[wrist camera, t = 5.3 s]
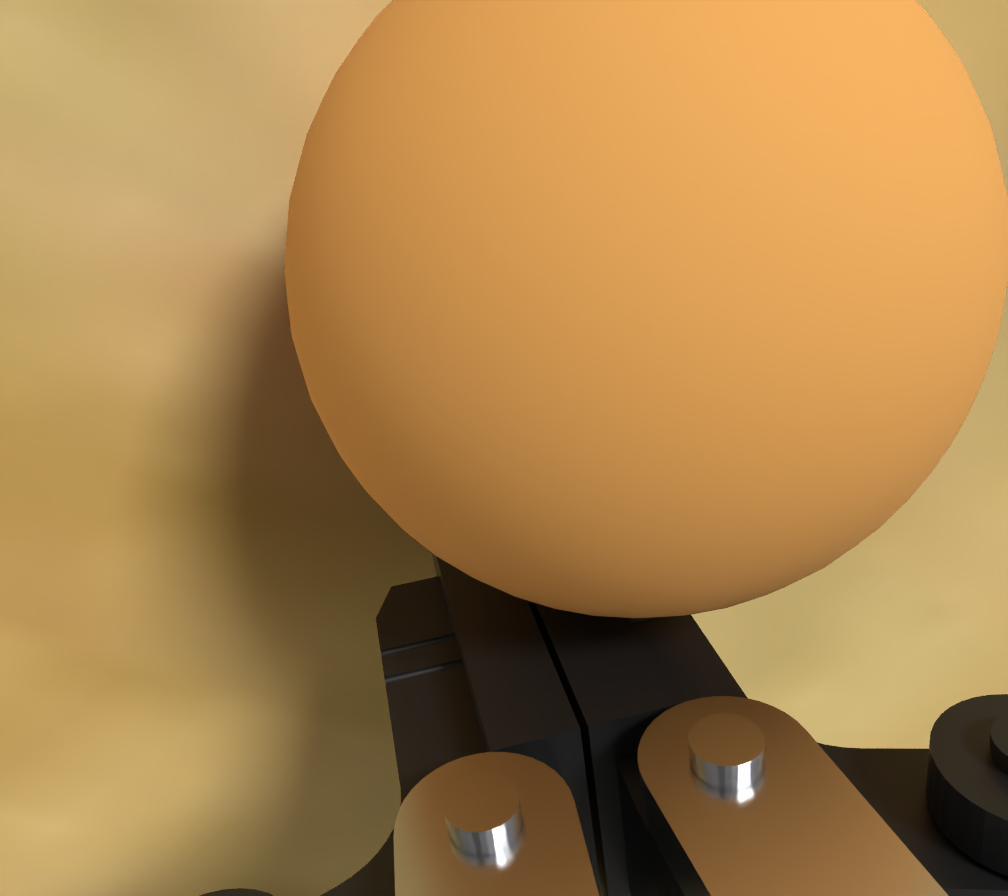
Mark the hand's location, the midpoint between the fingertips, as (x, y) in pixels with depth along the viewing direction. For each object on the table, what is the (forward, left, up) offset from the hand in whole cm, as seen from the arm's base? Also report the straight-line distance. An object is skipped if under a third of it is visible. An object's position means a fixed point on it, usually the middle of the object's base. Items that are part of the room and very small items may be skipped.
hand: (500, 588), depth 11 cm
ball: (+1, +4, +2) cm, 4 cm away
